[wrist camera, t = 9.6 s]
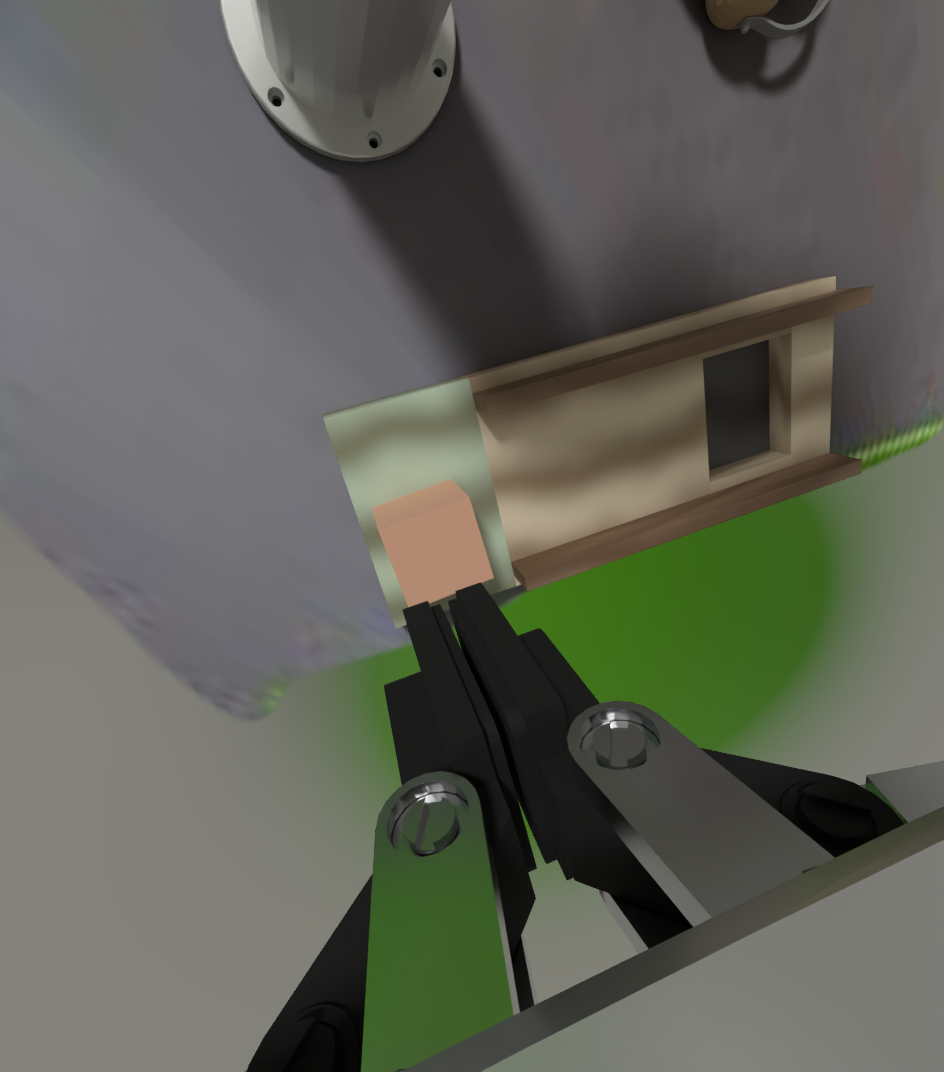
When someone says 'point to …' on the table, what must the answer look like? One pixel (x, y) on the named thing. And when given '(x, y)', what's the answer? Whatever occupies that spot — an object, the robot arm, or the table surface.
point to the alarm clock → (754, 16)
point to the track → (612, 437)
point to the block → (433, 542)
